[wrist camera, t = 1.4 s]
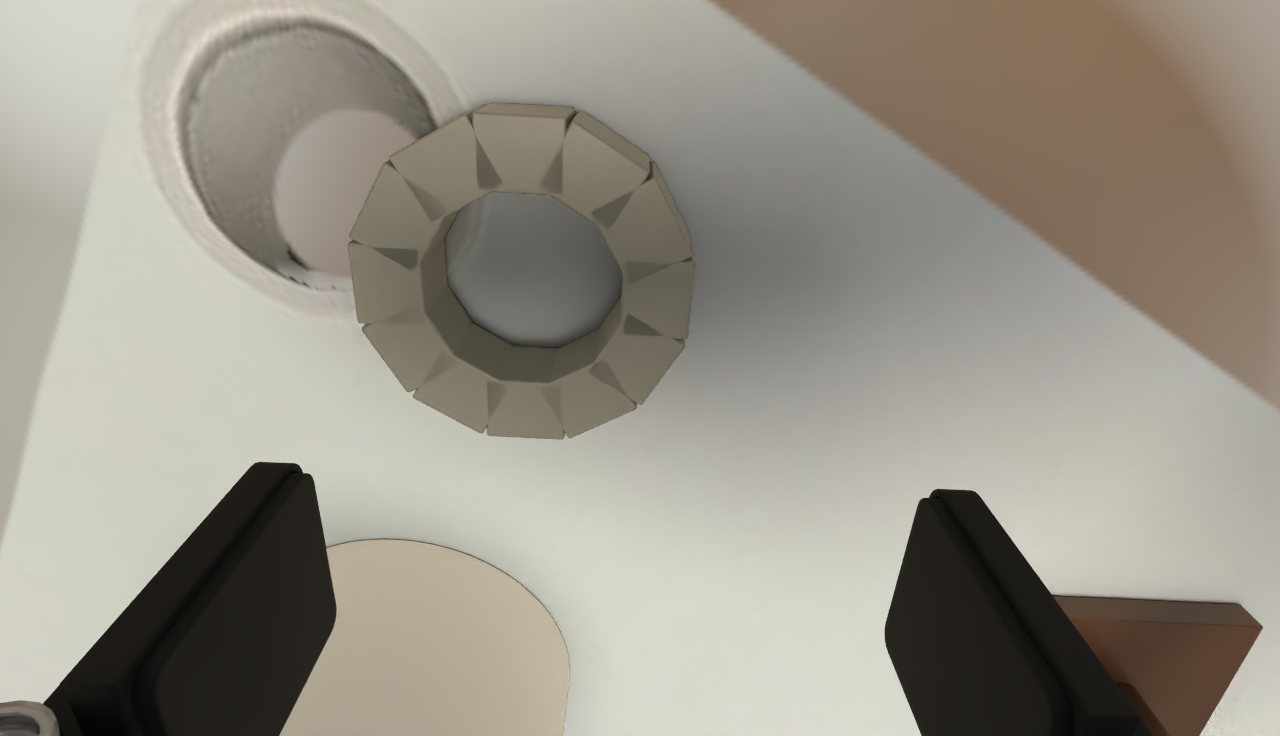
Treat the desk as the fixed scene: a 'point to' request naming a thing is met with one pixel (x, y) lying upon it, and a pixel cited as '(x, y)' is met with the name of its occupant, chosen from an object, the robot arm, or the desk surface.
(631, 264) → the grey faceted ring
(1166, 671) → the post
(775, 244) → the desk surface
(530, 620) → the canister
